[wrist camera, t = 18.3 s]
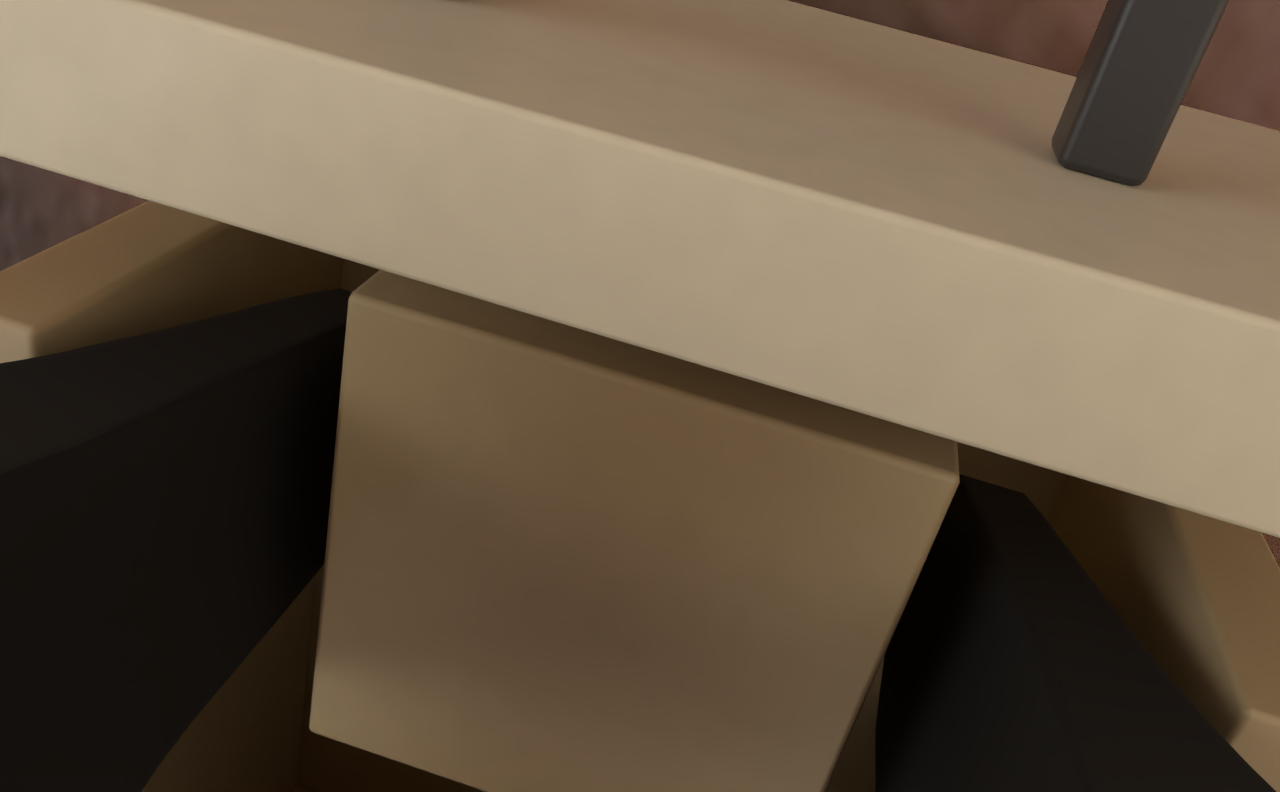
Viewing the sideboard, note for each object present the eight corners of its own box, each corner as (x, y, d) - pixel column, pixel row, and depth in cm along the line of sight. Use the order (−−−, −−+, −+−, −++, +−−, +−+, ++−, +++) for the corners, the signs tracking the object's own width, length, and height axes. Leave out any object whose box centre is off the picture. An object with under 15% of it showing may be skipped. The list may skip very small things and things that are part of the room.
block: (476, 481, 14) (306, 733, 10) (534, 140, 11) (344, 292, 8) (819, 589, 13) (781, 897, 9) (945, 257, 11) (963, 479, 7)
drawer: (318, -685, 10) (-463, -1369, 4) (1657, -396, 9) (2954, -803, 3) (244, 737, 18) (-39, 1119, 13) (906, 964, 17) (904, 1484, 12)
